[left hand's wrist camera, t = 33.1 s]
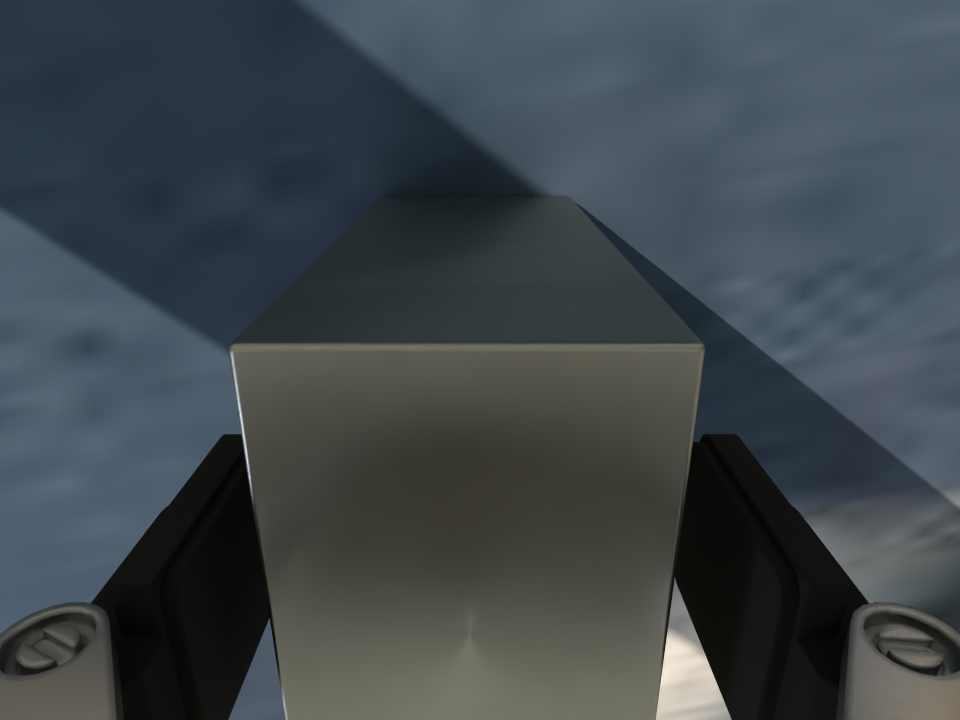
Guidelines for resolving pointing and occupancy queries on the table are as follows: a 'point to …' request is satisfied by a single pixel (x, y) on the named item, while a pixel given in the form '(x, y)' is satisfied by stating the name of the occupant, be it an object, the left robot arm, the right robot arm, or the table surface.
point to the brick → (468, 466)
